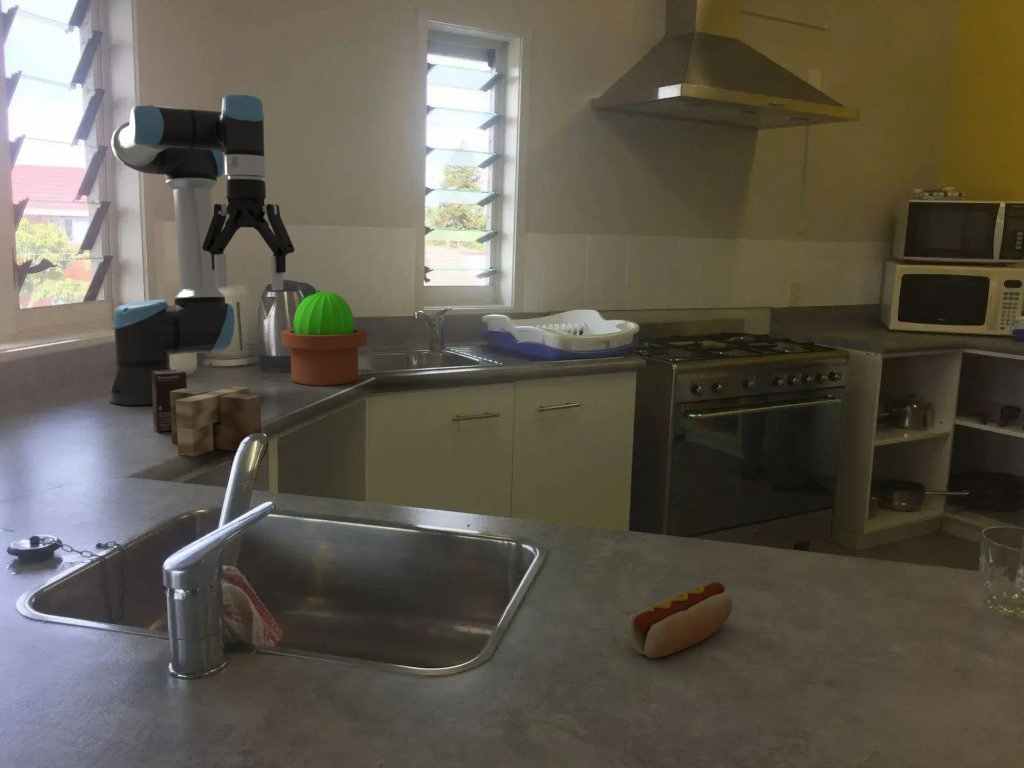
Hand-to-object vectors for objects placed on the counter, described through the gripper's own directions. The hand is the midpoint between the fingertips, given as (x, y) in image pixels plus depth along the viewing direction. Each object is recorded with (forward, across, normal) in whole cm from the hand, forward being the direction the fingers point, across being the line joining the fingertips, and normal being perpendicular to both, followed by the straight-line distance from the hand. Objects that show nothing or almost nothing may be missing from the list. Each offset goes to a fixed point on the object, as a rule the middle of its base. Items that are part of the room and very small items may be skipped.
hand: (249, 288), depth 174 cm
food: (+29, +99, -59) cm, 119 cm away
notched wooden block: (+29, +2, -14) cm, 32 cm away
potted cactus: (+29, -22, +58) cm, 68 cm away
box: (+29, -15, -7) cm, 33 cm away
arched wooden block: (+29, +2, -14) cm, 32 cm away
